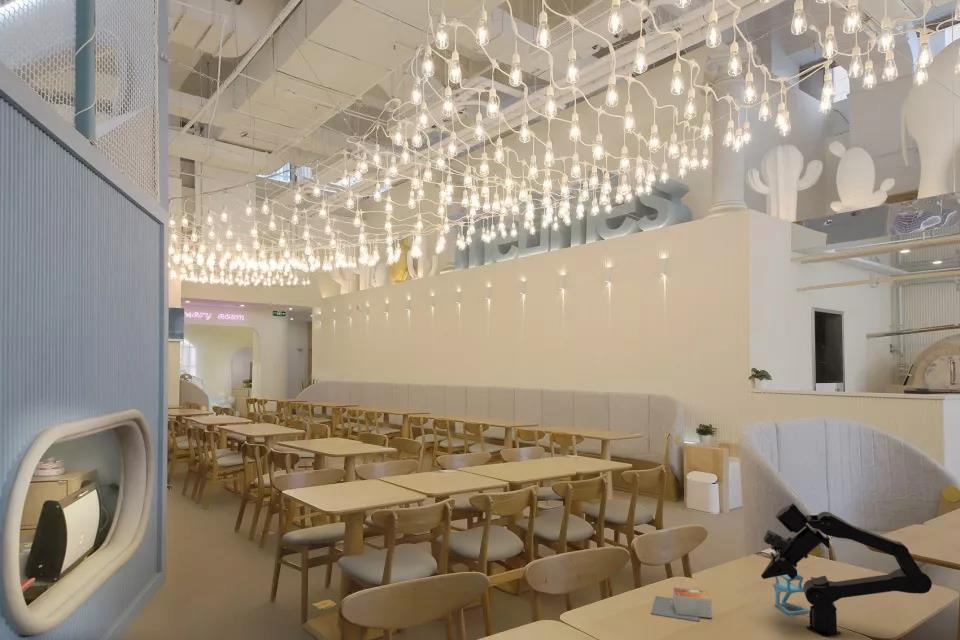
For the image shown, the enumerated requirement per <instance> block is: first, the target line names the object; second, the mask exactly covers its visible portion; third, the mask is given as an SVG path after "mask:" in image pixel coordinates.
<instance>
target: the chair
mask: <svg viewBox="0 0 960 640" xmlns="http://www.w3.org/2000/svg"><path fill="white" fill-rule="evenodd" d="M778 577H781V578H782V579H783V580H785V582H782V583H780V581H779V578H778ZM774 578H775V583H773V584H772V587H773V588H774V592H775V602H774V603H775V606H776V607H778V609H780V610H781V611H782V612H784V613H785V614H786V615H788V616H790V615H791V616H798V615H806V614H809V609H807V608H805V607H804V608H803V607H802V606H799V605H795V604H792V603H789V602H787V601H788V599H789V598H790V596H791V595H792V594H794V593H795V594H796V593H804V590H803V587H802V584H803V583H802V582H803V580H804V577H803V576H802V575H801V574H800V573H799V572H797V576H796V577H795V578H794V579H791V578H790V577H789V576H788V575H781V576H776V577H774ZM793 581H799V582H798V584H797V585H798V586H797V585H795V584H793V583H791V582H793ZM781 593H785V595H784V597H783V598H782V599H780V598H781V597H780V595H781ZM780 600H781V603H780ZM786 607H787V608H790V609H793V610H791V611H790V610H789V609H787V608H786Z"/></svg>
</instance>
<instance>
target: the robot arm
mask: <svg viewBox="0 0 960 640" xmlns="http://www.w3.org/2000/svg"><path fill="white" fill-rule="evenodd" d="M774 518H776V519H777V520H778V522H779V523H781V524H782V526H784V528H785V529H786V530H788V531H789V533H792V532H793V533H795V536H793V537H791V536H788V538H785V537H783V536H782V535H780V534H778V533H775V532H774V531H772V530H770V529H767V531H766V532H765V535H764V537H763V542H764V543H766V544H767V545H770V549H771V550H772V551H773V550H774V551H775V552H774V553H773V552H770V558H771V559H770V561H769V563H768V564H767V566H766V567H765V569H764V570H763V572H762V574H761V575H760V576H761V578H762V579H763V580H767V579H771V578H775V577H776V576H778V577H780V576H781V575H788V576H789V577H790V578H791V579H794V578H795V577H796V576H797V573H798V569H797V567H798V563H799V562H800V561H802V560H803V559H808V558H809V554H811V553H812V552H813V551H814V550H815V549H816V548H817V547H819V546H820V545H821V544H822V545H823V546H825V547H826V548H827V549H830V548H831V547H830V540H831V539H830V537H833V538H837V539H845V540H846V539H847V540H851V541H854V542H857V543H859V544H861V545H865V546H867V547H870V548H873V549H875V550H878V551H880V552H883V553H886V554H888V555H891V556H894V558H895V561H896V562H897V564H898V566H899V568H897V569H896V570H894V571H891V572H890V573H888V574H881V575H880V574H879V575H875V576H867V577H866V576H865V577H859V578H852V579H846V580H839V581H832V580H828V578H827V576H826V575H822V576H818V577H812V576H811V577H810V579H808V580H806V581H805V582H804V584H803V587H802V588H803V590H804V592H803V593H804V595H805V598H806V601H807V602H808V603H809V604H810V606H809V609H810V610H808V615H809V625H806V629H808V630H810V631H812V632H814V633H816V634H819V635H821V636H823V637H831V636H836V635H841V634H842V631H841V630H840V631H839V630H838V629H837V627H838V622H837V611H838V610H837V607H836V605H835V602H837V601H839V600H840V599H843V598H852V597H860V596H867V595H868V596H869V595H875V594H883V593H889V592H901V593H906V594H907V593H908V594H926V593H929V592H930V591H931V589H932V585H933V583H932V579H931V578H930V576H928V575H927V573H925V572H924V571H923V570H922V568H920V567H919V565H918V564H917V562H916V560H915V559H914V558H913V556H912V555H911V553H910V550H909V548H908V547H907V546H906V545H905V544H904V543H902V542H900V541H898V540H893V539H890V538H888V537H884V536H882V535H879V534H877V533H874V532H872V531H869V530H866V529H864V528H861V527H857V526H855V525H852V524H851V523H849V522H847V521H846V520H844V519H843V518H841V517H839V516H837V515H835V514H833V513H831V512H829V511H823V512H820V513H818V514H813V515H812V514H810V515H806V514H804V513H803V512H802V511H801V510H800V509H799V508H798V506H797V505H796V504H795V503H793V502H791V504H789V505H787V506H785V507H783V508H781V509H780V510H779V511H778V512H777V513H776V515H775V517H774ZM824 535H825V536H824Z"/></svg>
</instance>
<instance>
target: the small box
mask: <svg viewBox="0 0 960 640" xmlns="http://www.w3.org/2000/svg"><path fill="white" fill-rule="evenodd" d="M672 593H673V595H672V598H673V605H674V607H675V611H676V614H679V615H688V616H698V617H700V618H709V619H711V618H712V611H713V610H712V598H711V596H710V593H709V590H701V589H692V588H691V589H690V588H681V587H673V592H672Z"/></svg>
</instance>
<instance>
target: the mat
mask: <svg viewBox="0 0 960 640" xmlns="http://www.w3.org/2000/svg"><path fill="white" fill-rule="evenodd" d="M671 601H672V602H671ZM650 615H655V616H660V617H664V618H665V617H666V618H673V619H677V620H678V619H679V620H683V621H684V620H685V621H690V622H697V623H698V622H700V618H701V617H698V616H688V615H679V614H676V611H675V607H674V605H673V597H665V596H659V595H655V598H654V602H653V605H652V608H651V613H650Z"/></svg>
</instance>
